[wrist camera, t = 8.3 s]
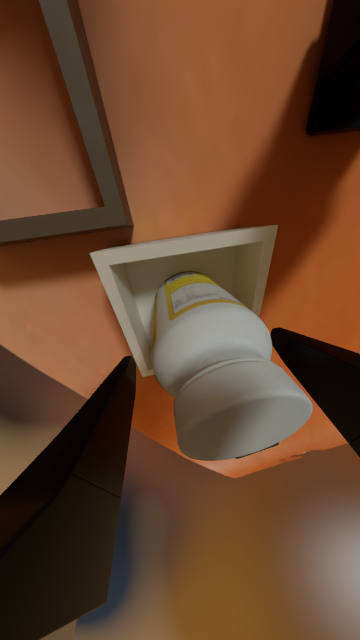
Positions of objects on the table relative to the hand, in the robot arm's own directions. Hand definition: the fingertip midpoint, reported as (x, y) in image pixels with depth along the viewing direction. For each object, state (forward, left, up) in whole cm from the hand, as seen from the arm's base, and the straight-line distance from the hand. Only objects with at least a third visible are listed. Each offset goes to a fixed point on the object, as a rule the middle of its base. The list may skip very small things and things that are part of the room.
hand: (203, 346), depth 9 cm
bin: (0, 0, -8) cm, 8 cm away
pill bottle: (0, 0, -7) cm, 7 cm away
